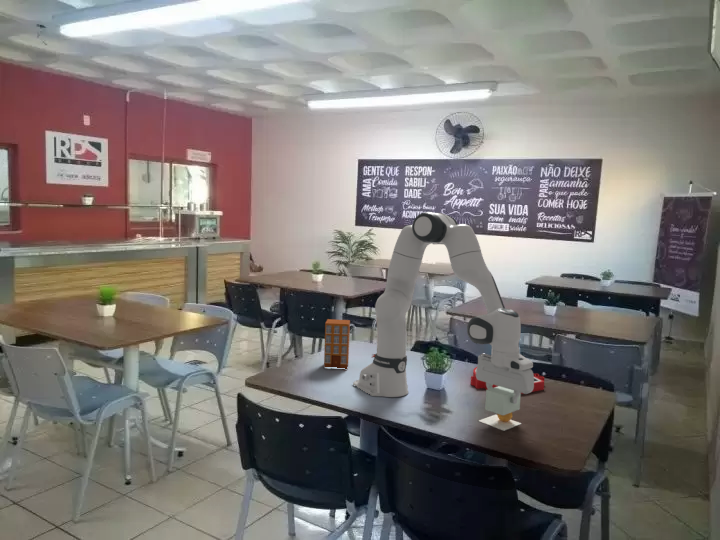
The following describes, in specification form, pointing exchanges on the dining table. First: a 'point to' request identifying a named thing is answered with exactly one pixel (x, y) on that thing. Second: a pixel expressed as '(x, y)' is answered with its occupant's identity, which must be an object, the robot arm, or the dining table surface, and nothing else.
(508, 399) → the pale green rectangular prism
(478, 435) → the dining table surface
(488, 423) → the mark
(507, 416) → the ball
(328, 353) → the miniature building
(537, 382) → the emblem
